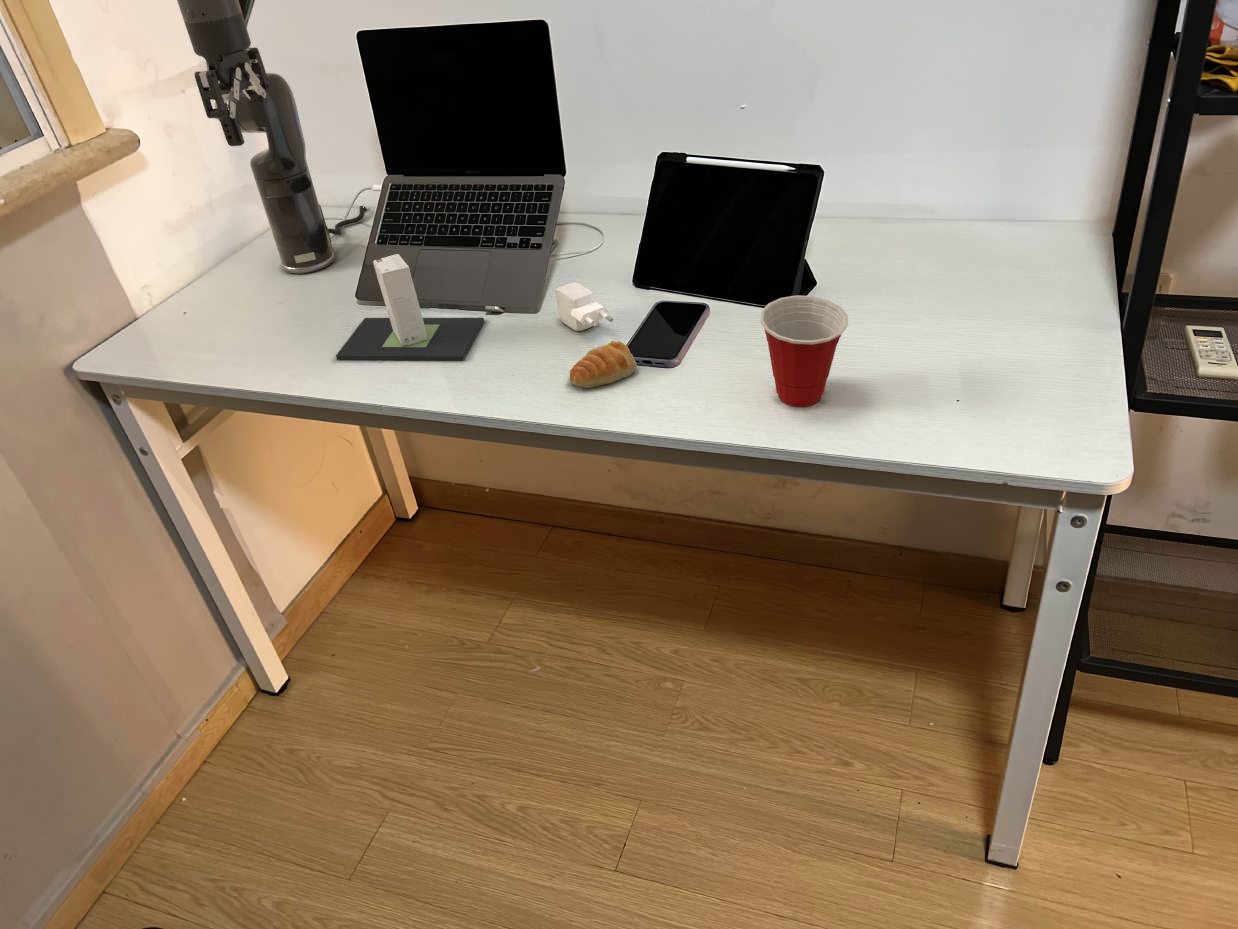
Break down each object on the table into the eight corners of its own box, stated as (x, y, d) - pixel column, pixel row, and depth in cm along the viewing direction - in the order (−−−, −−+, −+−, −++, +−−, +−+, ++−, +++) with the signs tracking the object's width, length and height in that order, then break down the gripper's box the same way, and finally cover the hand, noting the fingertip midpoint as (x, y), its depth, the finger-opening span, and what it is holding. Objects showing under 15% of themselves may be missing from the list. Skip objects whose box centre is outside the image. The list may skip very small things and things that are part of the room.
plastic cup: (787, 428, 115) (790, 345, 108) (743, 388, 123) (743, 308, 116) (859, 404, 118) (867, 321, 111) (812, 366, 126) (817, 287, 119)
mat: (366, 321, 149) (364, 316, 148) (484, 321, 145) (483, 316, 145) (337, 360, 139) (335, 354, 139) (463, 360, 136) (461, 355, 135)
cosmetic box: (429, 339, 140) (412, 266, 133) (401, 348, 139) (381, 274, 131) (418, 323, 145) (401, 251, 137) (390, 331, 143) (371, 259, 136)
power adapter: (620, 337, 137) (617, 302, 134) (593, 348, 136) (589, 313, 132) (581, 311, 145) (577, 277, 142) (555, 321, 143) (550, 287, 140)
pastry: (588, 397, 125) (585, 373, 123) (559, 380, 129) (556, 356, 127) (641, 371, 129) (639, 347, 127) (611, 355, 134) (609, 332, 131)
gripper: (211, 23, 117) (252, 151, 127) (261, 0, 128) (296, 119, 138) (158, 27, 118) (202, 153, 128) (213, 3, 129) (250, 121, 139)
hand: (251, 135), depth 133 cm, fingers open, 8 cm apart
